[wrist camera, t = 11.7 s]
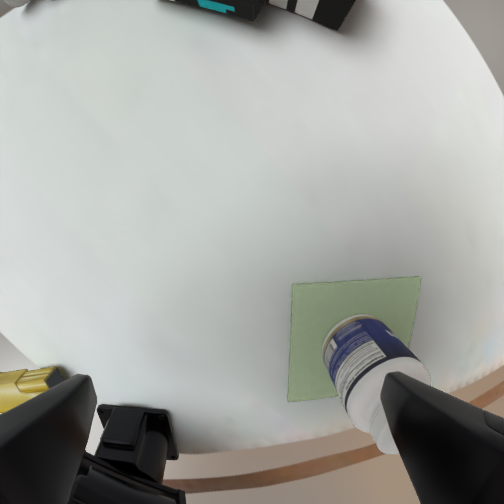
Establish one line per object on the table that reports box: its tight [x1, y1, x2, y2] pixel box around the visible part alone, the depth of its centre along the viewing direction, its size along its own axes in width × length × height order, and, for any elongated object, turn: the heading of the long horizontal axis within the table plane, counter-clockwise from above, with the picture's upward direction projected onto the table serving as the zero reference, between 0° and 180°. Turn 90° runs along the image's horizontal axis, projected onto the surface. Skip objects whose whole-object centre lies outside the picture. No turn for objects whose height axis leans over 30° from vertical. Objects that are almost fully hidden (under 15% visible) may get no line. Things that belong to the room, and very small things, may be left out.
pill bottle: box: [322, 314, 431, 455], centre depth 18 cm, size 5×5×10 cm
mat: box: [287, 276, 421, 402], centre depth 23 cm, size 10×10×1 cm
